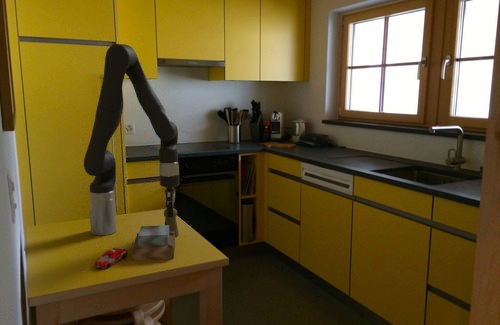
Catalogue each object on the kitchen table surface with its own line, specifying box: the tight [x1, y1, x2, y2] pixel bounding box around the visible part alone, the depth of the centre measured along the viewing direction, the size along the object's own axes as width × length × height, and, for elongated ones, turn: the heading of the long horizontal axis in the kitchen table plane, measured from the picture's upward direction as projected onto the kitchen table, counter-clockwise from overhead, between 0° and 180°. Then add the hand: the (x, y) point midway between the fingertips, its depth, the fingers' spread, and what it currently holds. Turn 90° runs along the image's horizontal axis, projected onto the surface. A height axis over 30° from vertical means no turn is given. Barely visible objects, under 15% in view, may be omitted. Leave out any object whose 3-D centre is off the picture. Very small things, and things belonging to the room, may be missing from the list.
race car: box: [93, 247, 128, 270], centre depth 140 cm, size 13×5×4 cm, turn 158°
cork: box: [163, 207, 180, 238], centre depth 165 cm, size 6×6×11 cm
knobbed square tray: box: [131, 224, 176, 261], centre depth 149 cm, size 14×14×8 cm
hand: (171, 213), depth 164 cm, fingers open, 8 cm apart
